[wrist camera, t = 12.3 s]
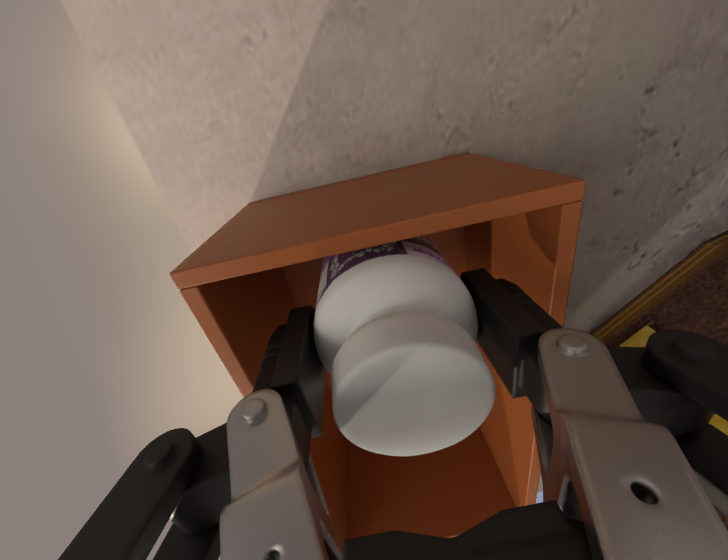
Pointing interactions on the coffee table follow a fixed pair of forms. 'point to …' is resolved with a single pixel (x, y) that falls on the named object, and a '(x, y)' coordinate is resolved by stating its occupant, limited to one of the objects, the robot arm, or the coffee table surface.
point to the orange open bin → (463, 253)
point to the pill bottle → (401, 349)
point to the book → (679, 307)
